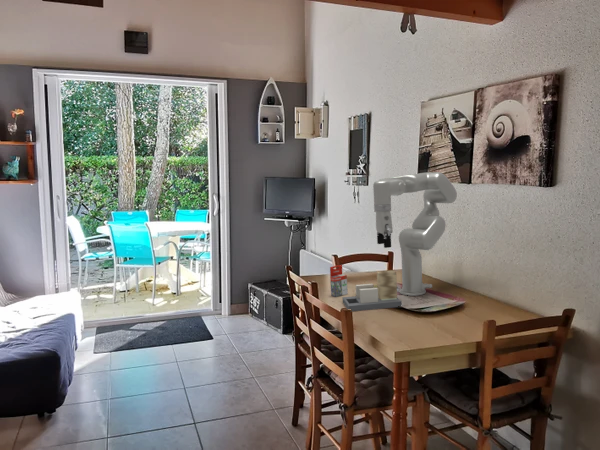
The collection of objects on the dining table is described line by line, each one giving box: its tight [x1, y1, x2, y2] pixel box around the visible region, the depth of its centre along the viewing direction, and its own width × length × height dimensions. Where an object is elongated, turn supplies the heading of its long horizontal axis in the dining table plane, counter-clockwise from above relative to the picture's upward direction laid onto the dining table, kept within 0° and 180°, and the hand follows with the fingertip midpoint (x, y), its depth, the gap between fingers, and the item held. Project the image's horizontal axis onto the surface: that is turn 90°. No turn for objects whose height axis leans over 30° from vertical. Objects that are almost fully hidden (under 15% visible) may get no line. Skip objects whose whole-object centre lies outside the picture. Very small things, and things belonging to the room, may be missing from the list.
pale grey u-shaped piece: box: [355, 283, 378, 303], centre depth 218 cm, size 8×9×6 cm
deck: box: [341, 295, 403, 312], centre depth 219 cm, size 24×14×3 cm, turn 96°
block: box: [376, 269, 398, 299], centre depth 218 cm, size 8×4×12 cm, turn 96°
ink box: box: [329, 264, 349, 298], centre depth 236 cm, size 4×8×15 cm, turn 123°
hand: (384, 245), depth 217 cm, fingers open, 9 cm apart
